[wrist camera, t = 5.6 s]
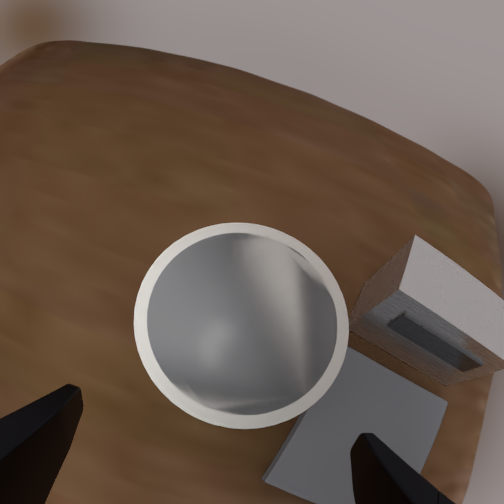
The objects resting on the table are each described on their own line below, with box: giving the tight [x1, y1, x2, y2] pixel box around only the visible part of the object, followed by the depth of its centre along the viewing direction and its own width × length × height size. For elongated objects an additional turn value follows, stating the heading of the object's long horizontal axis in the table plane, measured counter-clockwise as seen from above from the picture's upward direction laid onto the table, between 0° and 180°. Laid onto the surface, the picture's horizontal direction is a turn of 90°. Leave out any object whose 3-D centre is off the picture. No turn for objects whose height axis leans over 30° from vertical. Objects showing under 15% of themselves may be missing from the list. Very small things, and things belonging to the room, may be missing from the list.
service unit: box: [348, 235, 504, 386], centre depth 19 cm, size 4×10×7 cm, turn 60°
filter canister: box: [134, 223, 349, 429], centre depth 13 cm, size 5×5×13 cm
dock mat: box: [261, 346, 448, 504], centre depth 17 cm, size 10×10×1 cm
